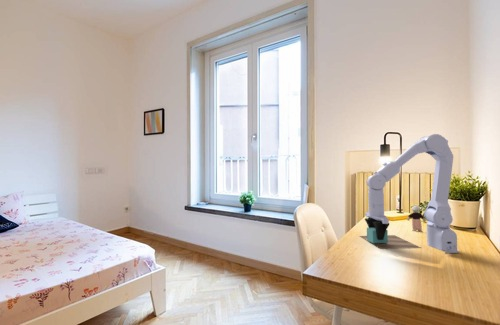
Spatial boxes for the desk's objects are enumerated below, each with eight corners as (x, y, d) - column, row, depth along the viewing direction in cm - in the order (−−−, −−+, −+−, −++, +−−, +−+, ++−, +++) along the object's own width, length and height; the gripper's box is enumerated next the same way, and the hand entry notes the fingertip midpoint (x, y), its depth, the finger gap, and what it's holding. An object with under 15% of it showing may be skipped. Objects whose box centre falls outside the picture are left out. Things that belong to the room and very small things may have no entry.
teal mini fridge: (387, 242, 104) (387, 229, 104) (372, 243, 104) (372, 230, 104) (381, 239, 109) (380, 226, 110) (367, 239, 109) (366, 227, 109)
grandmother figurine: (422, 230, 128) (421, 204, 128) (426, 232, 124) (426, 206, 124) (405, 230, 129) (405, 204, 129) (409, 232, 125) (409, 206, 125)
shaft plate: (421, 251, 99) (421, 239, 99) (380, 252, 99) (379, 241, 99) (394, 237, 117) (394, 228, 117) (359, 238, 117) (358, 229, 117)
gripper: (358, 202, 114) (359, 233, 114) (375, 207, 100) (376, 243, 100) (374, 201, 114) (375, 232, 114) (393, 207, 100) (394, 242, 100)
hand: (376, 237), depth 107 cm, fingers closed on teal mini fridge, 5 cm apart
